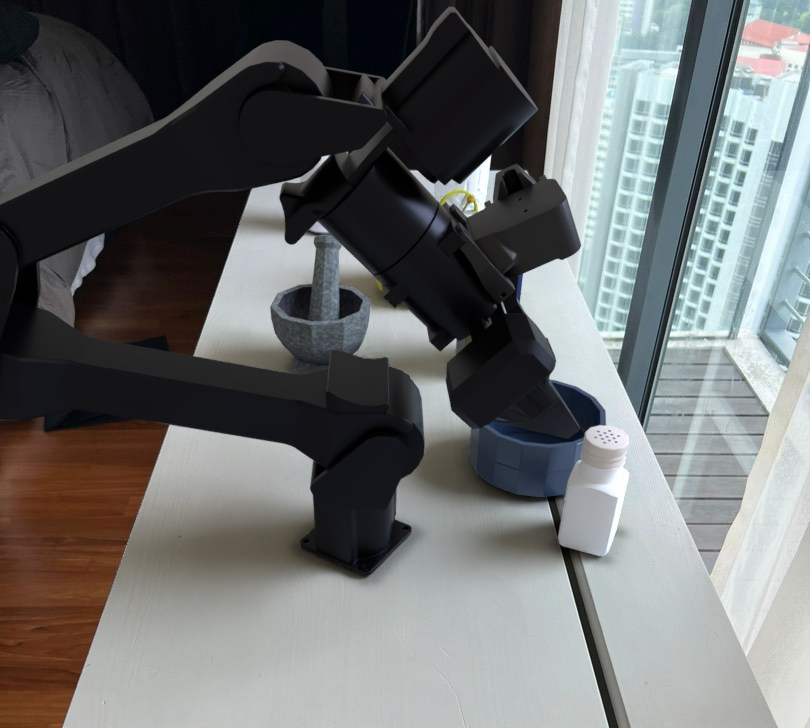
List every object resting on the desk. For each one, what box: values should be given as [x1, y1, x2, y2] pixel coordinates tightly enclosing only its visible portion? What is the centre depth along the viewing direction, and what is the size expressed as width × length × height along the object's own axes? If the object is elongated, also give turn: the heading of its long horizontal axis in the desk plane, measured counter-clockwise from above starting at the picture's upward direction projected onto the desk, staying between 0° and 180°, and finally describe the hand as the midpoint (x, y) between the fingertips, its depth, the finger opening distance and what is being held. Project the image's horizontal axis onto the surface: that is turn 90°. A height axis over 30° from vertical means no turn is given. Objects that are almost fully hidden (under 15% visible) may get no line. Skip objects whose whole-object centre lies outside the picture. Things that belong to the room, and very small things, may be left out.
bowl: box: [468, 379, 607, 498], centre depth 72 cm, size 11×11×6 cm
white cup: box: [433, 155, 492, 217], centre depth 117 cm, size 8×8×10 cm
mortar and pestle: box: [269, 234, 371, 374], centre depth 83 cm, size 11×9×12 cm
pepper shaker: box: [557, 425, 630, 557], centre depth 63 cm, size 4×4×10 cm
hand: (559, 396), depth 58 cm, fingers open, 9 cm apart
